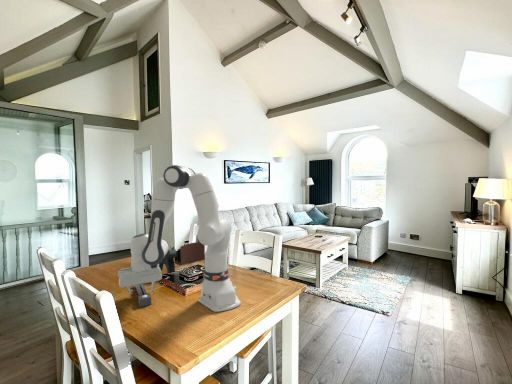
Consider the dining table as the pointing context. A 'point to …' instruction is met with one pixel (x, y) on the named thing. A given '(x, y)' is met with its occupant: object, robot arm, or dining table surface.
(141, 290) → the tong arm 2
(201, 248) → the letter holder
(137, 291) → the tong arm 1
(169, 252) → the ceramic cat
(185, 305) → the dining table surface
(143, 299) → the tong hinge block
